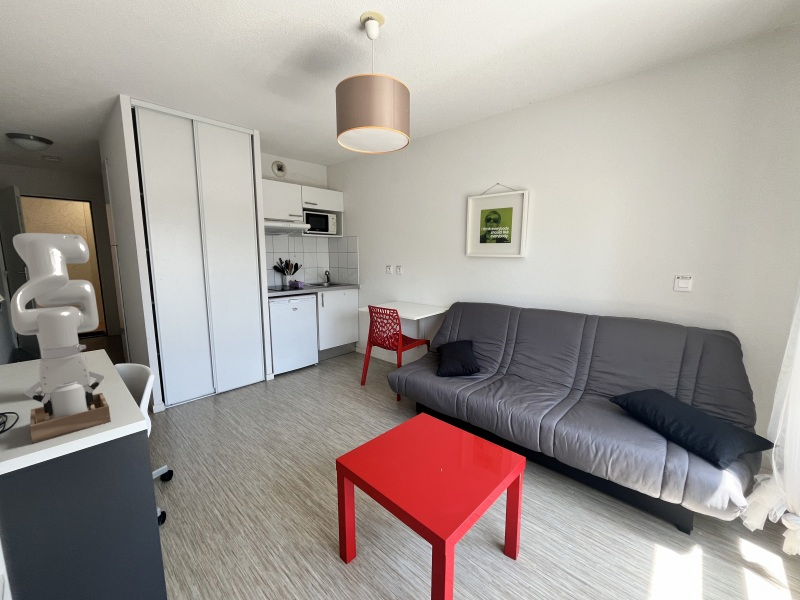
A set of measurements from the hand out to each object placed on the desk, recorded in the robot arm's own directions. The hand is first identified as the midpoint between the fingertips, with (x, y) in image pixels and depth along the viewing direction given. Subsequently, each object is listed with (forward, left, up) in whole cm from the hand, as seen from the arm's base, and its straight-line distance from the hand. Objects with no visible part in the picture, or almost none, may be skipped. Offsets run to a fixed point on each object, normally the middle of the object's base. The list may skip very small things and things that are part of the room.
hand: (70, 409), depth 97 cm
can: (0, 0, -4) cm, 4 cm away
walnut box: (-2, 0, -5) cm, 6 cm away
